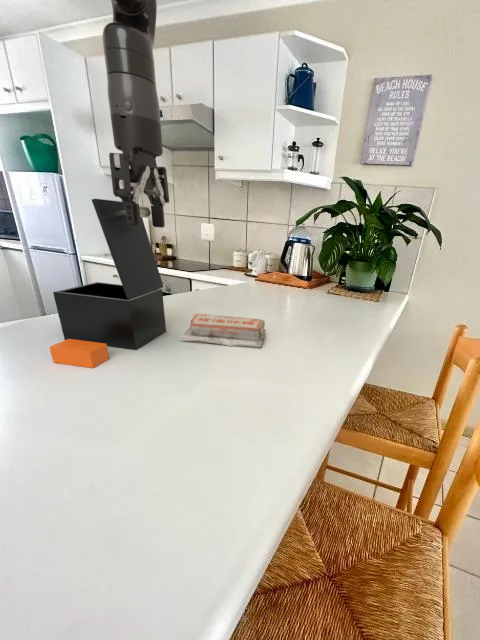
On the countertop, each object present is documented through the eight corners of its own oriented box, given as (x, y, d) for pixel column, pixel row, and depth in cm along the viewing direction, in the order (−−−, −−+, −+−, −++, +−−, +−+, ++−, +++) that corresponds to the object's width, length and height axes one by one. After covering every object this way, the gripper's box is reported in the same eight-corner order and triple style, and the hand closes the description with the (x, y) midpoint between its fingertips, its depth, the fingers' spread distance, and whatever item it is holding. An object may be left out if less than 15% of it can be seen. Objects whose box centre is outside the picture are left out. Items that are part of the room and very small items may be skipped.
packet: (53, 362, 57) (49, 346, 55) (72, 353, 61) (68, 338, 59) (93, 368, 56) (89, 352, 55) (109, 358, 60) (106, 343, 59)
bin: (64, 340, 66) (52, 292, 62) (104, 324, 77) (96, 281, 73) (136, 350, 65) (129, 301, 60) (166, 331, 76) (162, 289, 71)
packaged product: (267, 315, 77) (262, 327, 69) (266, 335, 80) (261, 349, 71) (192, 309, 77) (178, 320, 69) (193, 328, 80) (180, 341, 71)
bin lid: (91, 199, 53) (117, 193, 52) (134, 204, 64) (156, 199, 63) (127, 299, 60) (151, 295, 59) (160, 287, 71) (181, 284, 70)
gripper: (138, 128, 59) (148, 225, 67) (84, 101, 47) (103, 225, 54) (177, 130, 59) (183, 229, 66) (132, 104, 46) (146, 229, 53)
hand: (147, 227), depth 60 cm, fingers open, 8 cm apart
